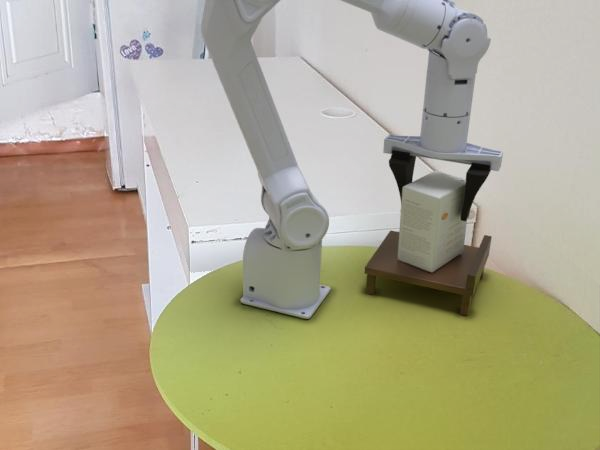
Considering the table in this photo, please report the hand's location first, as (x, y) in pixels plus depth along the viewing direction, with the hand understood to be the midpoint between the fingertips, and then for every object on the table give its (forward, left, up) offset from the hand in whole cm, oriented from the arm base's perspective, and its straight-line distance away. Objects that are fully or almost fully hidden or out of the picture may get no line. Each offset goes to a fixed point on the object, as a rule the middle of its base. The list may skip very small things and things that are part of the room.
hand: (434, 212), depth 97 cm
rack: (0, 0, -10) cm, 10 cm away
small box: (0, 0, -6) cm, 7 cm away
